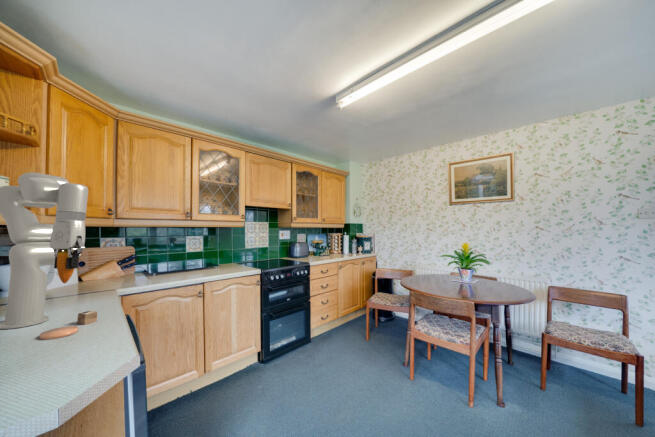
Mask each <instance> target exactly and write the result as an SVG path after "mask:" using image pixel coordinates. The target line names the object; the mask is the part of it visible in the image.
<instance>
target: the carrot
mask: <svg viewBox="0 0 655 437" xmlns="http://www.w3.org/2000/svg"><path fill="white" fill-rule="evenodd" d="M64 250H65V251H62V252H59V253H58V255H57V275H58V277H59V280H60V281H61V282H62V283H63V284H66V283H68V281H69V280H70V279H71V278H72V275H73V273H74V271H75V269H66V260H67V258H68V249H64ZM72 253H73V251H72Z"/></svg>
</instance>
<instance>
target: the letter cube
mask: <svg viewBox="0 0 655 437" xmlns="http://www.w3.org/2000/svg"><path fill="white" fill-rule="evenodd" d="M97 319H98V311H97V310H87V311H82V312H78V313H77V321H76V324H77V325H83V326H86V325H89V324H93V323H97Z"/></svg>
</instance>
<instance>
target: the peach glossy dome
mask: <svg viewBox="0 0 655 437" xmlns="http://www.w3.org/2000/svg"><path fill="white" fill-rule="evenodd" d="M78 332H79V327H78V326H76V325H75V326H74V325H72V326H71V325H69V326H61V327H56V328H52V329H48V330H45V331H43V332H41V333H40V334H39V339H40V340H43V341H47V340H55V339H61V338H64V337H69V336H71V335H74V334H77V333H78Z"/></svg>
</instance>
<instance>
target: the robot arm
mask: <svg viewBox="0 0 655 437" xmlns="http://www.w3.org/2000/svg"><path fill="white" fill-rule="evenodd" d="M17 183H18V184H17V185H3V186H0V216H1V217H2V218H3V220H4V221H5V224H6V228H7V232H8V236H9V238H10V241H11V242H12V243H13V244H14V245H12V247H11V248H10V249H9V252H8V259H9V266H10V269H9V270H10V272H9V273H10V275H9V276H10V277H9V286H8V293H7V294H8V295H7V303H6V310H5V314H4V318H5V319H4V321H2V322H0V329H1V330H10V329H19V328H24V327H25V328H26V327H31V326H35V325H38V324H42V323H45V322H47V321H49V319H50V316H49V315H45V305H46V298H47V296H46V295H47V288H48V285H47V284H48V274H47V273H46V272H45V271H44V270H43V269H42V268H41V267H44V266H53V268H54V269H57V255H58V253H59V252H62V251H65V250H64V249H68V258H67V260H66V269H74V270H75V269H78V268H79V263H80V262H79V261H80V258H81V253H82V252H83V251H85V249H86V247H85V242H86V219H87V209H88V207H87V206H88V197H89V188H88V187H87V186H86V185H84V184H80V183H75V182H74V183H72V182H69V180H68V179H66V178H65V177H63V176H58V175H57V176H56V175H51V174H46V173H41V172H34V171H33V172H25V173H23V174H21V175H20V176H19V177H18V178H17ZM26 207H29V208H42V209H51V208H54V207H56V210H55V211H56V212H55V221H54V223H41V222H39V220H38V216H37V215H36V214H35V213H34V212H32V211H31V210H29V209H27V208H26ZM72 251H73V253H72Z"/></svg>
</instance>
